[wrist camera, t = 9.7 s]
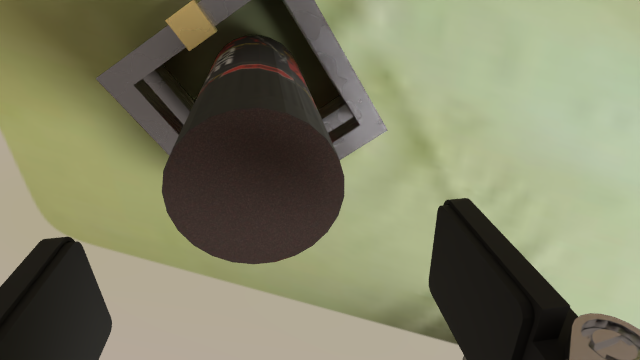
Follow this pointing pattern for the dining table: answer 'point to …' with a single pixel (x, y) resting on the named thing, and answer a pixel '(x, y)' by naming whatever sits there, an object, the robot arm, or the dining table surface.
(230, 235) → the deodorant
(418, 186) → the dining table surface
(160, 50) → the grey open cube frame
